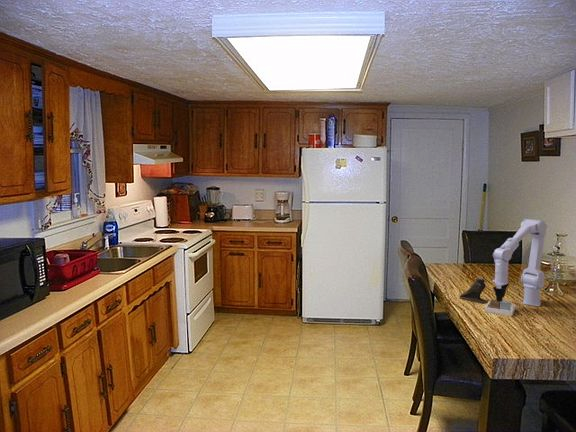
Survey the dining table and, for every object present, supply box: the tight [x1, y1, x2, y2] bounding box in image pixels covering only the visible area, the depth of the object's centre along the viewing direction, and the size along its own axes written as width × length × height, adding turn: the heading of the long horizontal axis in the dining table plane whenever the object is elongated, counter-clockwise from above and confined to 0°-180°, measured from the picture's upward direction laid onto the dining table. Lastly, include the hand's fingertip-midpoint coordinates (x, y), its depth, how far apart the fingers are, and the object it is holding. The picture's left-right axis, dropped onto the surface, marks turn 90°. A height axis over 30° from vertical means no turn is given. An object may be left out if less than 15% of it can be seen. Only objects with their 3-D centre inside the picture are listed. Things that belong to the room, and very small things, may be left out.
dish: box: [484, 300, 516, 317], centre depth 218 cm, size 12×12×2 cm
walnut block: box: [489, 299, 501, 309], centre depth 219 cm, size 4×4×4 cm
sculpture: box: [459, 277, 487, 305], centre depth 235 cm, size 6×13×13 cm, turn 42°
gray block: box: [500, 300, 512, 311], centre depth 217 cm, size 4×4×4 cm
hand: (500, 299), depth 219 cm, fingers open, 7 cm apart
